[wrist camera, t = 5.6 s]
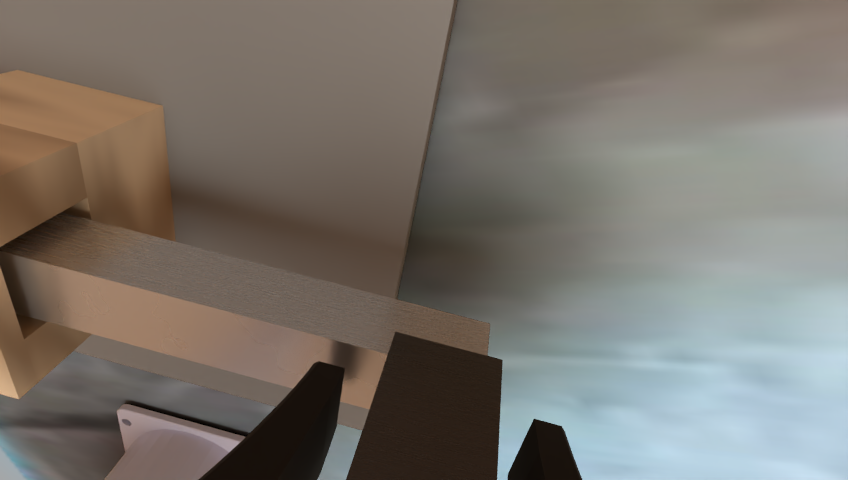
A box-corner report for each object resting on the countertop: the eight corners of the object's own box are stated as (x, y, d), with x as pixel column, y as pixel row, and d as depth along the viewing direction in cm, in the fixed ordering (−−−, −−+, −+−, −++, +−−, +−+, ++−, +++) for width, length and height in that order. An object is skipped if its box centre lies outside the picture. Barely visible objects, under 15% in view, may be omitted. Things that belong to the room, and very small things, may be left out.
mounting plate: (373, 414, 23) (367, 431, 22) (14, 316, 24) (-4, 329, 23) (476, -95, 13) (473, -99, 12) (-167, -236, 13) (-214, -249, 13)
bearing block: (177, 258, 19) (19, 399, 13) (55, 226, 19) (-155, 350, 13) (163, 105, 16) (-55, 199, 10) (17, 69, 16) (-281, 139, 10)
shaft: (476, 390, 14) (452, 622, 9) (-16, 258, 15) (-277, 409, 10) (504, 311, 13) (494, 539, 8) (-47, 168, 13) (-376, 294, 8)
